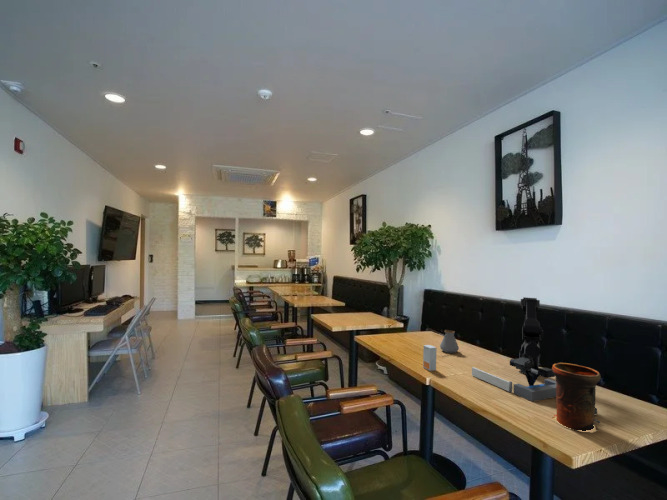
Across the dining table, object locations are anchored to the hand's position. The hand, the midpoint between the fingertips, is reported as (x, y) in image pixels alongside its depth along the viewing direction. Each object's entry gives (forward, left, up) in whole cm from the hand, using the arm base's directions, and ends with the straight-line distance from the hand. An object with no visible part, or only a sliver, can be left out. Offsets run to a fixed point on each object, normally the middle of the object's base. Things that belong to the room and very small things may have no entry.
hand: (531, 386), depth 154 cm
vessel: (+14, +28, -2) cm, 31 cm away
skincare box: (+26, -39, -2) cm, 47 cm away
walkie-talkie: (+1, +23, -2) cm, 23 cm away
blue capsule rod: (0, +2, -2) cm, 3 cm away
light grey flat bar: (+11, -12, -1) cm, 17 cm away
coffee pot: (-4, -65, -2) cm, 65 cm away
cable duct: (0, +5, -2) cm, 5 cm away
